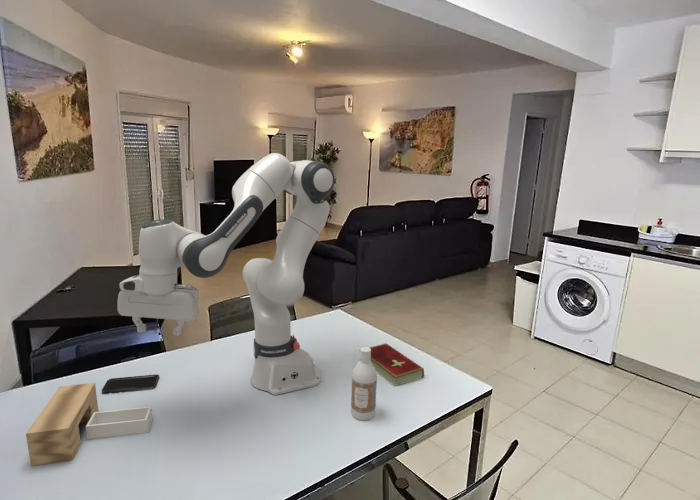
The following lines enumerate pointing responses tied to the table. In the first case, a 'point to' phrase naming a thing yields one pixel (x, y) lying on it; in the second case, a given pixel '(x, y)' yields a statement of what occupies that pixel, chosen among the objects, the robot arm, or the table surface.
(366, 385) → the bath foam
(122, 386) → the phone
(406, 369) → the hardcover book
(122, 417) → the white drawer
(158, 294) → the robot arm
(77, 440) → the overhang dock
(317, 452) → the table surface
